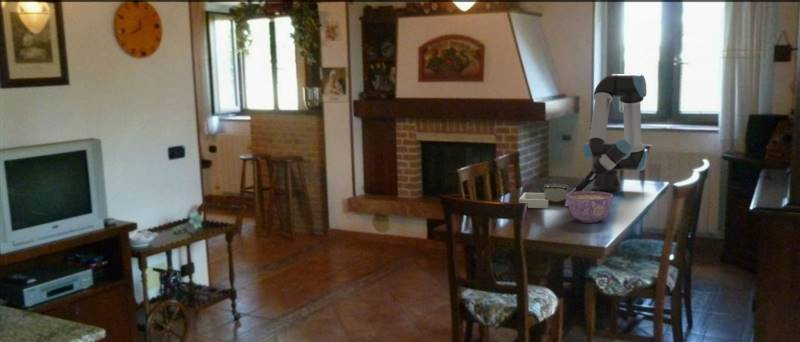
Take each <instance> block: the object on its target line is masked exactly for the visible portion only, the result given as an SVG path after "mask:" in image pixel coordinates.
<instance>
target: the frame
mask: <svg viewBox="0 0 800 342" xmlns="http://www.w3.org/2000/svg"><path fill="white" fill-rule="evenodd" d="M518 203H528V208H527V209H529V208H530V209H549V206H548V200H545V192H523V194H521V196H520V197H519V198H518Z"/></svg>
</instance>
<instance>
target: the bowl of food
mask: <svg viewBox="0 0 800 342" xmlns="http://www.w3.org/2000/svg"><path fill="white" fill-rule="evenodd" d="M570 192H571V191H570ZM570 192H567V194H566V196H567V198H566V202H567V205H568V208H569V213H570V214H571V215H572V217H573V218H574V219H576V220H578V221H579V222H581V223H587V224H591V223H592V224H593V223H594V224H595V223H598V222H599V221H602V220H604V219H605V218H607V216H608V215H609V213H610V210H611V206H612V202H613V199H614V194H612V193H609V192H607V191H605V192H604V191H599V190H596V191H594V190H582V191H578V192H571V193H570Z"/></svg>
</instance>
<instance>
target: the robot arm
mask: <svg viewBox="0 0 800 342" xmlns="http://www.w3.org/2000/svg"><path fill="white" fill-rule="evenodd" d="M647 94H648V93H647V82H646V77H645V76H644V75H643V74H641V73H612V74H608V75H607V76H604V77H603V78H602V79H601V80H600V81H599V82H598V84H597V85H596V87H595V89H594V91H593V96H592V97H593V100H594V103H593V110H592V119H591V124H590V125H591V127H590V133H589V139H588V142H585V143H584V144H583V146H582V147H583V148H582V154H583V157H584V158H586V159H595V162H594V163H593V164H592V167H593V168H594V170H591V171H589V172H588V174H587V175H586V176H585V178H583V179H582V180H581V182H580V183H577V185H575V186H574V188H573V189H572V190H571V191H570V192H569V193H571V192H578V191H584V189H585V188H587V186H588V185H589V184H591V183H592V185H591V187H592V188H591V189H592V190H596V191H602V192H604V191H605V192H607V191H608V192H610V191H620V190H621V189H622V184H621V180H620V178H619V171H633V172H634V171H635V172H636V171H644V170H645V168H646V165H647V161H648V160H647V159H648V151H649V149H647V148H646V147H645V144H644V143H642V117H641V115H642V111H641V102H643V101H644V98H645V97H647ZM614 97H615V98H619V101H620V102H621V103H622V109H623V110H622V111H623V117H622V118H623V136H624V137H621V138H620V139H619V140H617V141H616V142H615V143H605V142H606V134H607V127H608V120H609V113H610V105H611V102H612V101H613V99H614ZM566 199H567V197H566Z"/></svg>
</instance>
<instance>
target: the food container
mask: <svg viewBox="0 0 800 342" xmlns="http://www.w3.org/2000/svg"><path fill="white" fill-rule="evenodd" d="M542 190H543V191H544V192H543V193H545V200H548V207H566V206H567V205H566V203H567V198H566V197H567V196H566V194H568V190H569V186H568V185H567V184H565V183H564V184H562V183H548V184H544V185H543V187H542Z"/></svg>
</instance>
